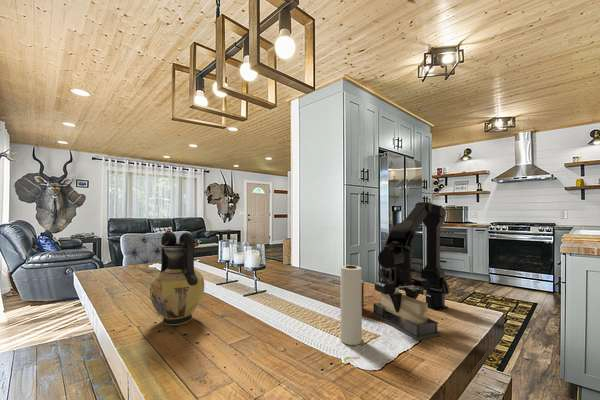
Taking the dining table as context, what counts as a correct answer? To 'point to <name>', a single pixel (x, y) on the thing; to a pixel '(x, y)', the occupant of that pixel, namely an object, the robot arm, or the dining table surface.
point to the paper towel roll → (351, 305)
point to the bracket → (407, 324)
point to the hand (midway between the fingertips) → (402, 311)
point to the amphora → (177, 280)
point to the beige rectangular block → (407, 308)
